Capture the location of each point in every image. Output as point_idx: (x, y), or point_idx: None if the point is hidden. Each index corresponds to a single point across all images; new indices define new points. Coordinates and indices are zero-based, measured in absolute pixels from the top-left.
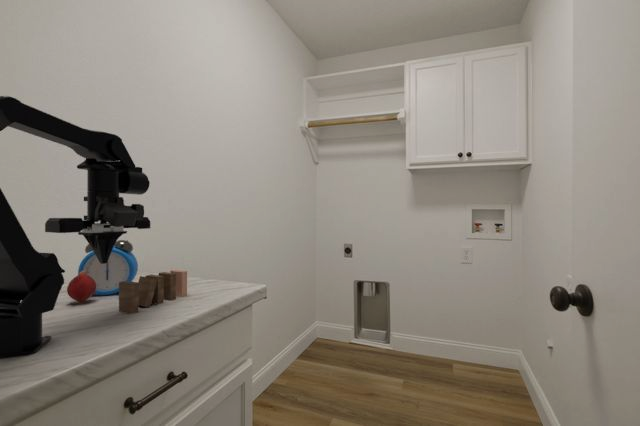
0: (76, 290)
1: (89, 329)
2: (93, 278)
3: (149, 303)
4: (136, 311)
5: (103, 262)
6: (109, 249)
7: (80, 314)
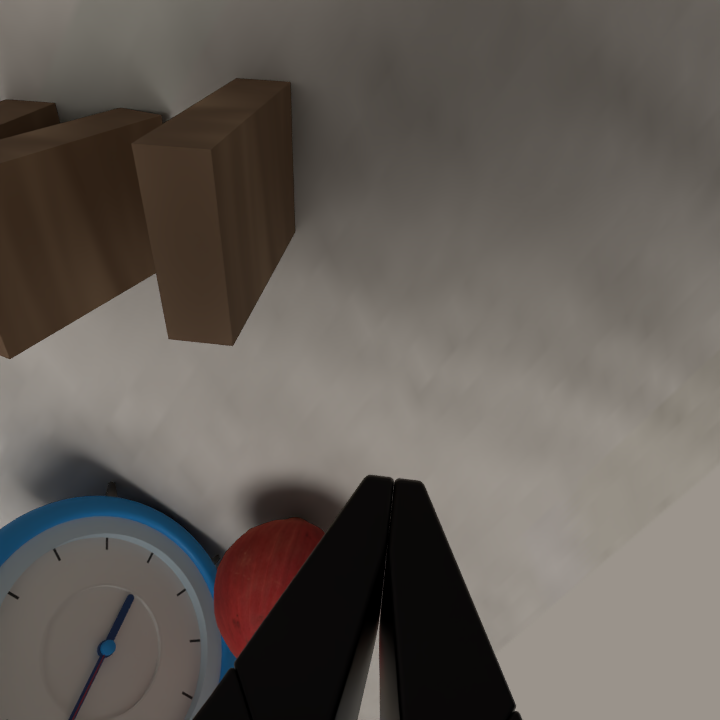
0: None
1: (645, 50)
2: (181, 642)
3: (112, 115)
4: (250, 81)
5: (420, 485)
6: (310, 656)
7: (431, 376)
